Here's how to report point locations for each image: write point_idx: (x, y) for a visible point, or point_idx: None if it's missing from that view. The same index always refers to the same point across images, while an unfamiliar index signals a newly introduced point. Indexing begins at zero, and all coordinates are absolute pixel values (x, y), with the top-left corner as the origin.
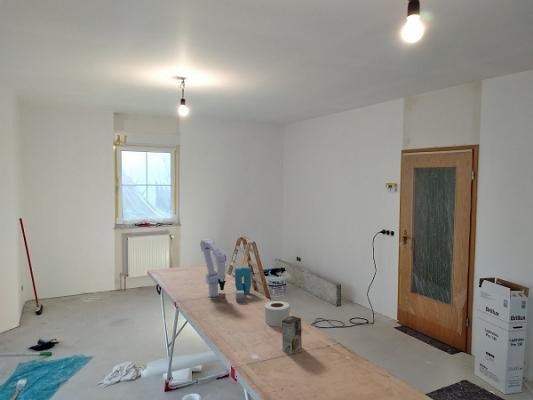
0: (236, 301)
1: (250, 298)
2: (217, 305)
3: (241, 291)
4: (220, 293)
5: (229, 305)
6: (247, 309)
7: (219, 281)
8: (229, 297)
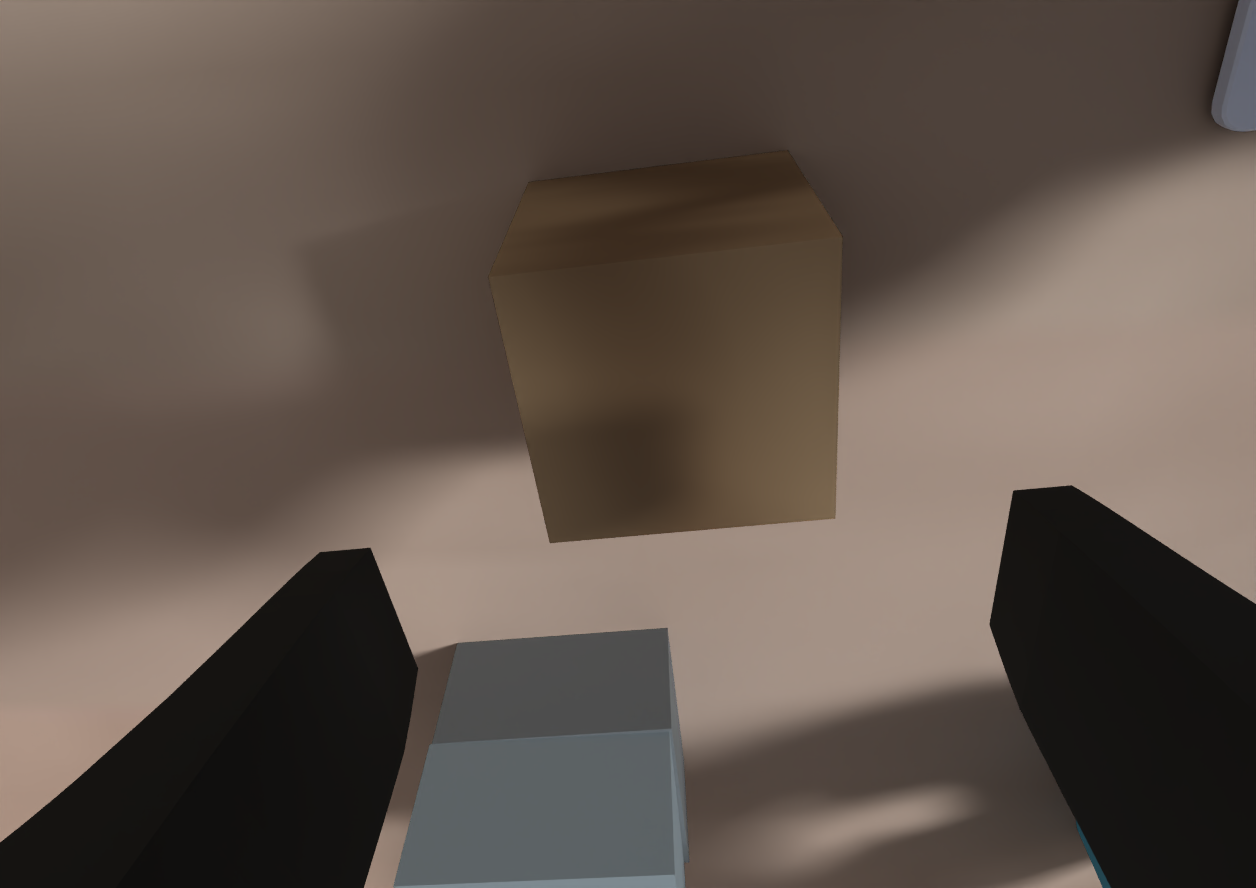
0: (453, 663)
1: (711, 848)
2: (88, 161)
3: None
4: (757, 340)
5: (178, 512)
6: (11, 805)
7: None
8: (925, 487)
